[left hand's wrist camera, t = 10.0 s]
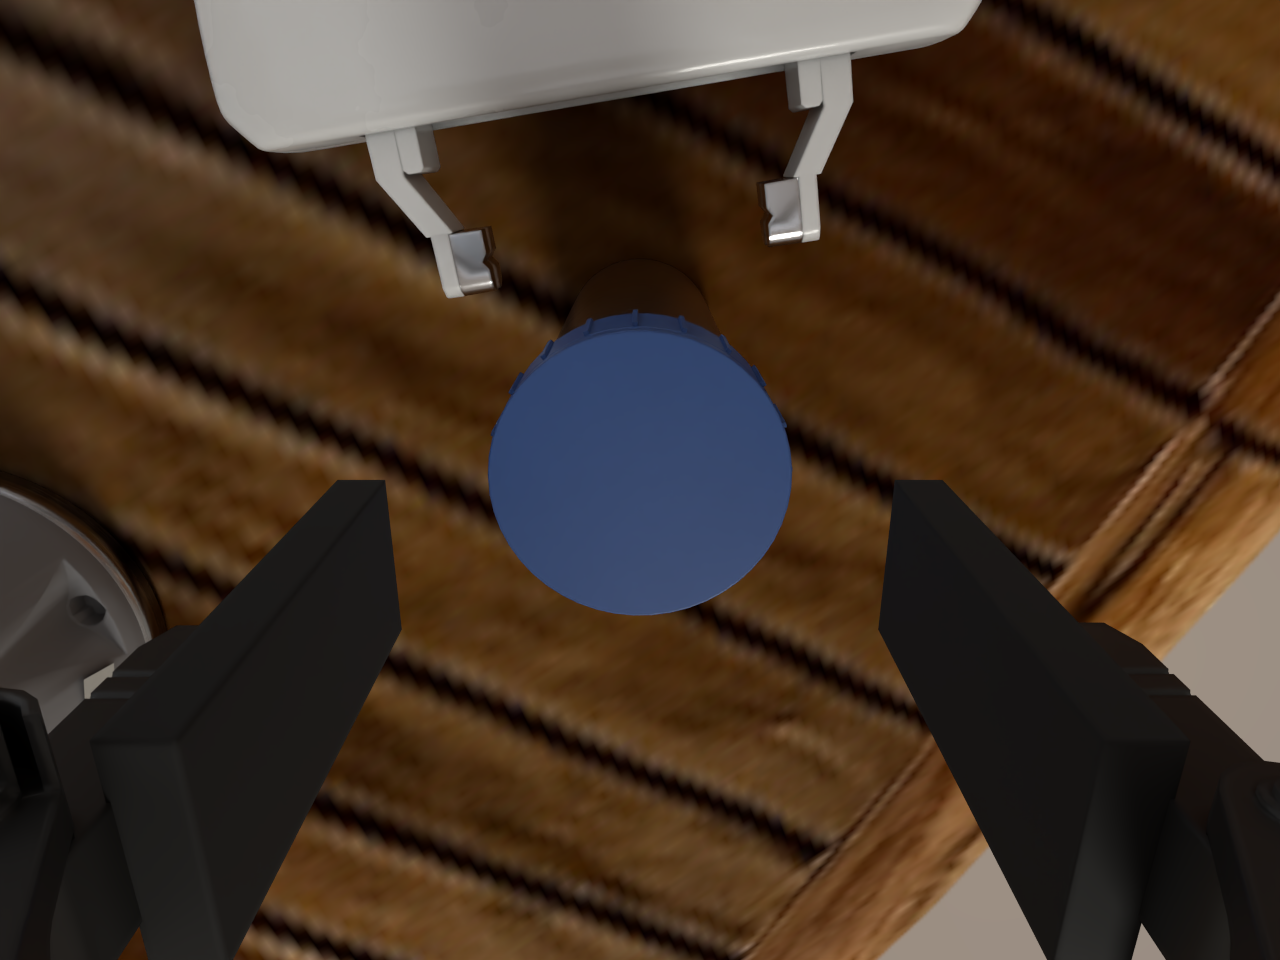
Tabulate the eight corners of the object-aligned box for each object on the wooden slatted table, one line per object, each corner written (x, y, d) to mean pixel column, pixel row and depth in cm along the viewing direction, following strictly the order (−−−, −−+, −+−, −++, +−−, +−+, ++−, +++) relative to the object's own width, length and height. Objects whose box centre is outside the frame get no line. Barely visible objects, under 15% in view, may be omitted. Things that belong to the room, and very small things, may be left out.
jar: (546, 364, 33) (469, 531, 18) (604, 233, 31) (572, 297, 16) (672, 422, 34) (698, 627, 19) (735, 297, 32) (819, 413, 17)
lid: (460, 511, 20) (440, 549, 18) (567, 260, 18) (559, 271, 16) (701, 613, 21) (708, 659, 19) (830, 385, 19) (851, 410, 17)
